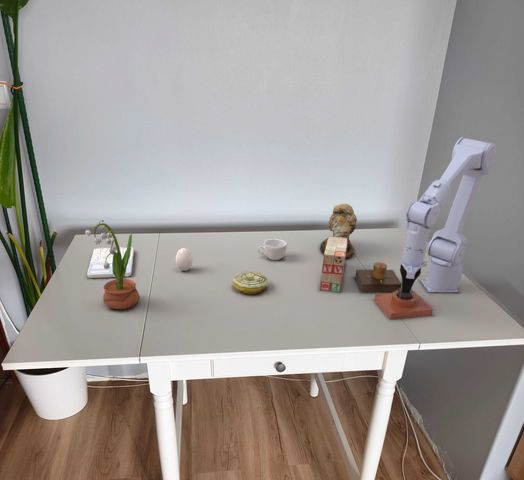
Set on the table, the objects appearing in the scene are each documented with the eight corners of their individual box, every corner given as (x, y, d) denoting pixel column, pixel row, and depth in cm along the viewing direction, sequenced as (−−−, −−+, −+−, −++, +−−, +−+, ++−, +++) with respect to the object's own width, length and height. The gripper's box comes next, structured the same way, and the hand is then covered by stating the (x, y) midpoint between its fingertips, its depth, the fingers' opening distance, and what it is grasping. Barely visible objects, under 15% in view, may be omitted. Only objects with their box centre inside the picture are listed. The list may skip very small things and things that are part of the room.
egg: (184, 275, 159) (183, 253, 154) (172, 270, 161) (171, 248, 157) (196, 269, 162) (195, 247, 158) (184, 265, 165) (183, 243, 161)
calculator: (134, 251, 173) (133, 245, 172) (131, 277, 156) (130, 271, 155) (94, 252, 171) (93, 247, 170) (87, 279, 154) (86, 273, 153)
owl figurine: (317, 239, 187) (322, 194, 177) (348, 240, 187) (354, 195, 178) (323, 260, 172) (328, 212, 162) (357, 261, 172) (364, 213, 163)
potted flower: (101, 316, 136) (86, 230, 122) (93, 300, 144) (79, 216, 130) (144, 307, 141) (134, 223, 127) (134, 292, 148) (124, 210, 135)
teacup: (282, 252, 176) (283, 237, 173) (288, 261, 170) (289, 246, 167) (255, 254, 174) (255, 239, 171) (259, 263, 168) (260, 248, 165)
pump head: (407, 293, 146) (408, 286, 145) (414, 299, 143) (415, 293, 142) (395, 294, 145) (396, 287, 144) (401, 300, 142) (402, 294, 141)
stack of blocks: (326, 261, 171) (330, 227, 164) (344, 263, 170) (349, 229, 163) (319, 290, 153) (323, 253, 146) (340, 293, 152) (345, 255, 145)
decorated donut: (274, 289, 153) (275, 278, 151) (248, 299, 147) (248, 288, 145) (252, 276, 159) (253, 266, 157) (226, 286, 153) (226, 275, 151)
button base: (413, 296, 152) (416, 285, 149) (431, 315, 143) (434, 303, 141) (373, 300, 149) (376, 288, 147) (389, 319, 140) (392, 307, 138)
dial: (372, 272, 158) (374, 260, 155) (385, 274, 157) (387, 262, 154) (371, 278, 154) (373, 265, 152) (384, 280, 154) (386, 267, 151)
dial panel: (391, 278, 162) (392, 269, 160) (400, 292, 154) (401, 283, 152) (354, 277, 161) (356, 269, 159) (361, 292, 153) (363, 283, 151)
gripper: (430, 259, 129) (419, 304, 136) (430, 238, 140) (420, 281, 148) (402, 255, 130) (393, 300, 138) (405, 235, 142) (396, 277, 149)
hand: (405, 290), depth 143 cm, fingers closed
